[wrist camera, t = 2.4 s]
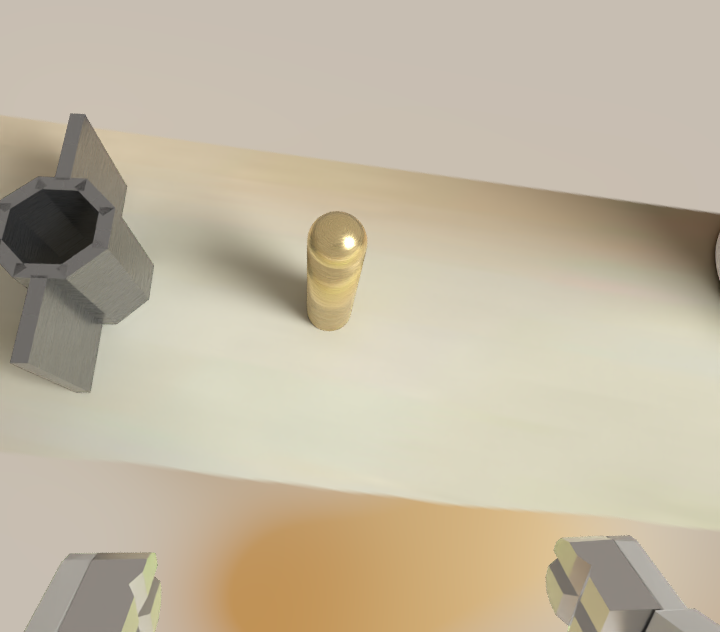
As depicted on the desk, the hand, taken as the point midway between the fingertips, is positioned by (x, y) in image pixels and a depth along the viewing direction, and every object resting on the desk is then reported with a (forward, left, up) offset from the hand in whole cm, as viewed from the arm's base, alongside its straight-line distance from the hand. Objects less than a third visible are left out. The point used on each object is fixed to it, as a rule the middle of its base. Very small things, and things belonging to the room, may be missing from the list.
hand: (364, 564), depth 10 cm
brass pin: (0, -13, -20) cm, 24 cm away
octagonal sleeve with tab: (+15, -15, -20) cm, 29 cm away
